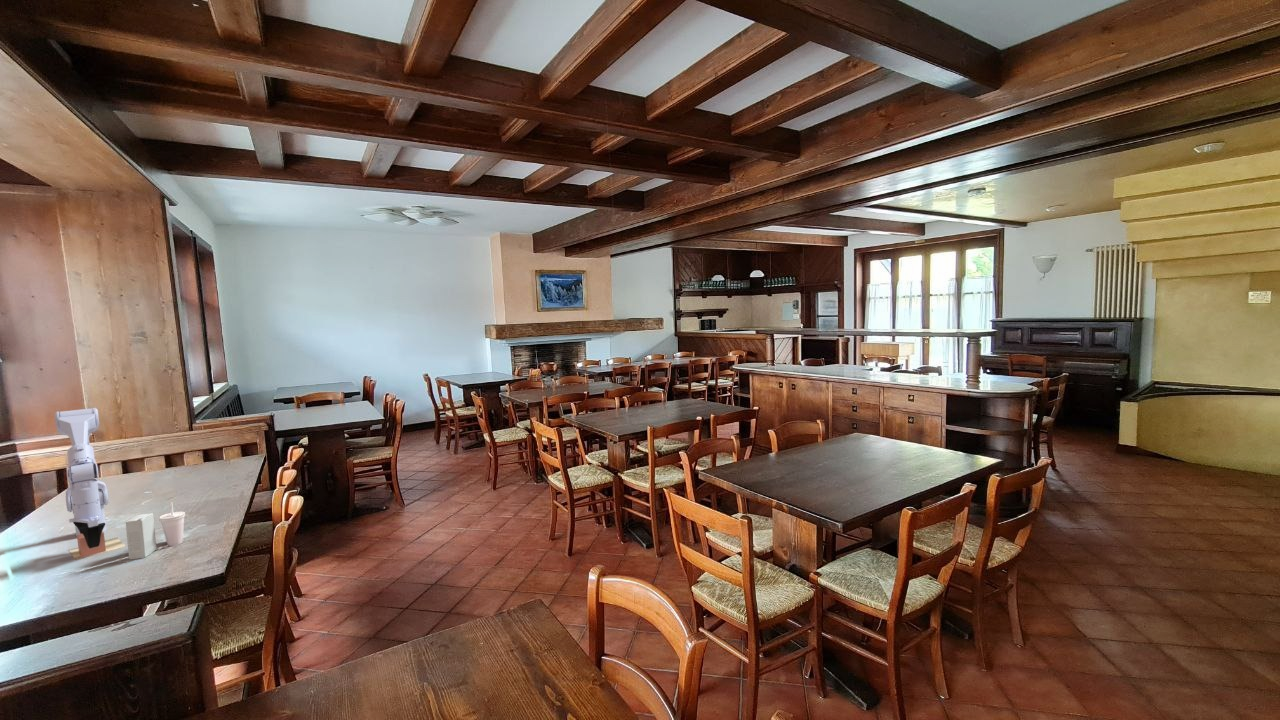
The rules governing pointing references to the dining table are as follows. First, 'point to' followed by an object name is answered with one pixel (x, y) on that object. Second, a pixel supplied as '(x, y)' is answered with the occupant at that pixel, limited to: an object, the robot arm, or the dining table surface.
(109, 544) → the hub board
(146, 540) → the skincare box
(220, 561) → the dining table surface
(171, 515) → the smoothie
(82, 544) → the terracotta orange block
